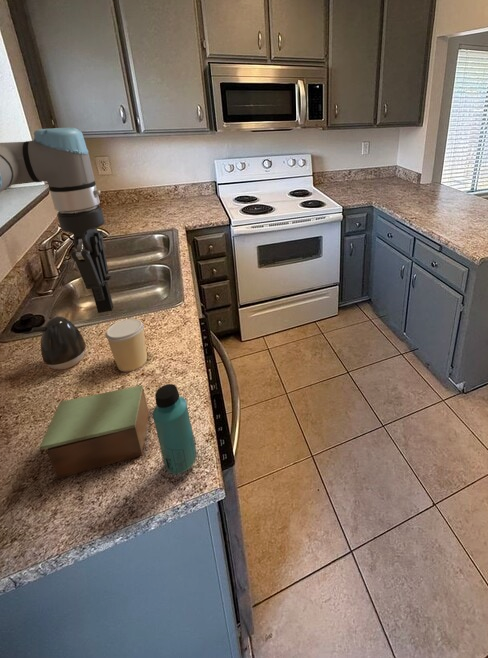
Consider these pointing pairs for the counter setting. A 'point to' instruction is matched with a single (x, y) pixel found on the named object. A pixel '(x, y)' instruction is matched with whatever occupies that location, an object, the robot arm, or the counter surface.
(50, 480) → the counter surface
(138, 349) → the coffee cup
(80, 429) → the lid
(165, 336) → the counter surface
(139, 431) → the brown wooden box
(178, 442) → the beverage bottle
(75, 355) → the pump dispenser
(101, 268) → the robot arm
